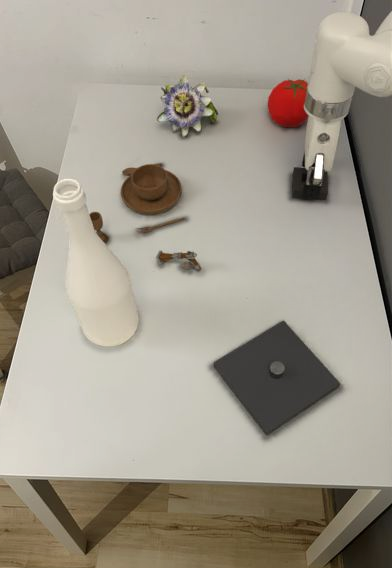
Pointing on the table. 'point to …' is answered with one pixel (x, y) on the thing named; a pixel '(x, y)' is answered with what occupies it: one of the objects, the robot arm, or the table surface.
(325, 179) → the black block
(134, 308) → the wine bottle
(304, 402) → the base pad
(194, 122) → the passion flower
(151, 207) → the place setting
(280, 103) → the tomato
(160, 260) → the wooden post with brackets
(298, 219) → the table surface
